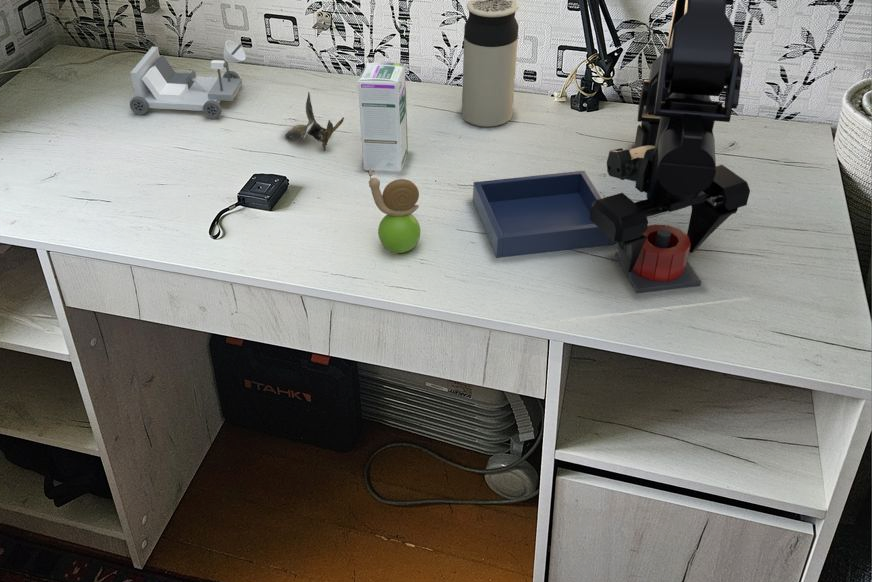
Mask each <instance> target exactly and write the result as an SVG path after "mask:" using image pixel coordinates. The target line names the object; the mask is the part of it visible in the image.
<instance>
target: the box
mask: <svg viewBox="0 0 872 582" xmlns="http://www.w3.org/2000/svg"><path fill="white" fill-rule="evenodd" d="M602 198H603V197H601V195H600V193H599V192H598V190H597V188H596V186H595V185H594V184H593V182H592V180H591V179H590V177H589V176H588V174H587V172H586V171H585V170H576V171H575V170H574V171H565V172H558V173H557V172H556V173H547V174H538V175H530V176H529V175H527V176H519V177H510V178H501V179H492V180H482V181H473V185H472V203H473V206H474V207H475V210H476V213H477V215H478V217H479V220H480V222H481V224H482V227H483V229H484V232H485V234H486V236H487V239H488V241H489V244H490V246H491V248H492V251H493V253H494V256H495V258H496V259H501V258H510V257H517V256H519V257H520V256H527V255H536V254H545V253H554V252H563V251H570V250H571V251H573V250H580V249H589V248H597V247H598V248H599V247H605V246H606V247H607V246H615V244H616V242H614V241H613V240H612V239H611V238H610V237H609V236H607V235H606V234H605V233H604V232H603V231H602V230H601V229H600V228H599V227H598V226H596V225H595V224H594V223H593V222H592V221H591V220H590V219H589V218H590V210H591V206H592V203H593V202H594V201H596V200H598V199H602Z"/></svg>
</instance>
